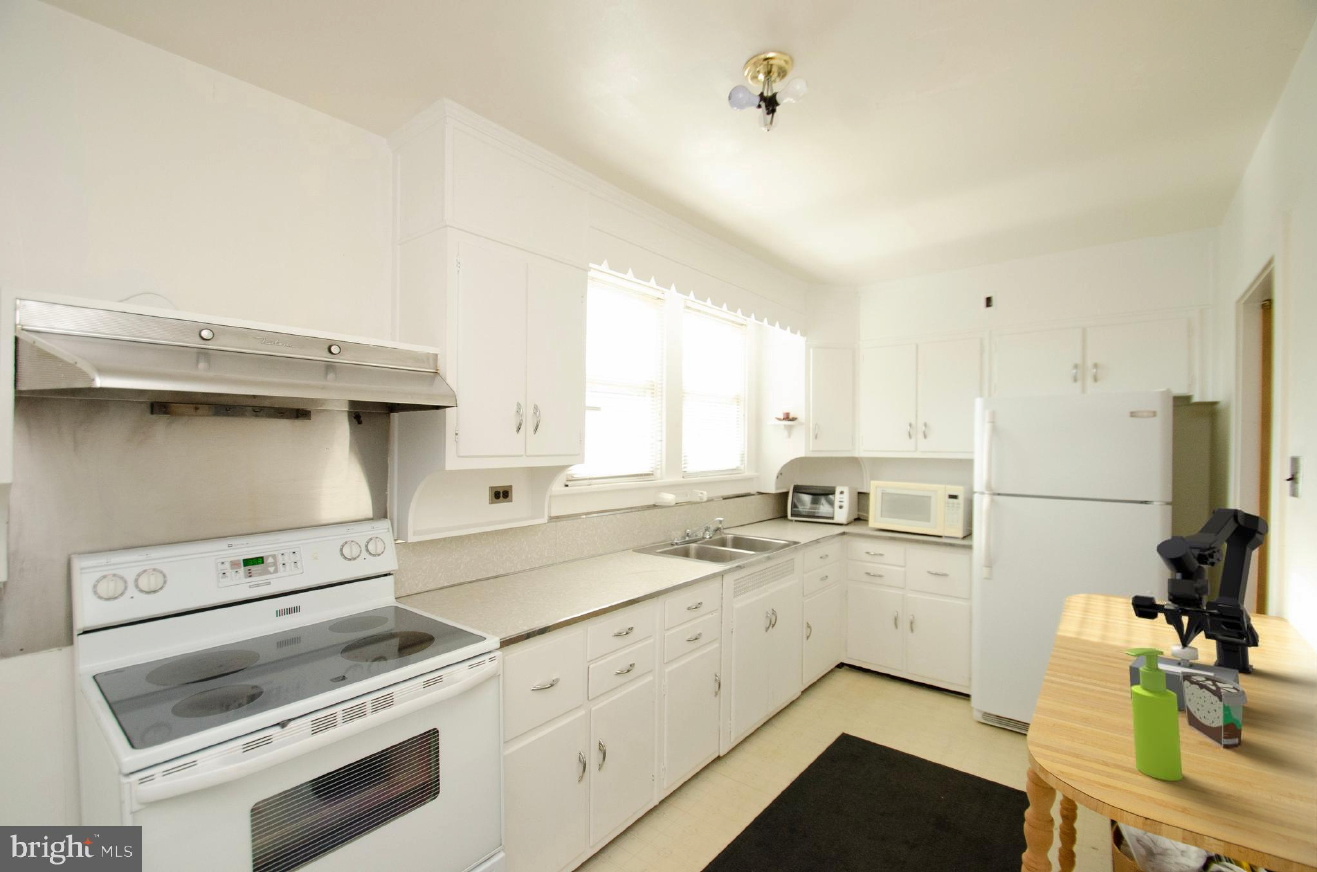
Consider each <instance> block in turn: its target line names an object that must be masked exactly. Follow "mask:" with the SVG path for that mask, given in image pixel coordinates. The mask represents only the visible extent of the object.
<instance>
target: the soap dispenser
mask: <svg viewBox="0 0 1317 872" xmlns="http://www.w3.org/2000/svg"><path fill="white" fill-rule="evenodd" d="M1124 654H1126V655H1128V656H1131V657H1134V658H1137V657H1139V656H1144V655H1145V666H1143V667H1140V668H1139V673H1140V685H1135V686H1132V687H1131V686H1130V694H1131V693H1132V699H1131V706H1132V721H1133V722H1132V724H1133V737H1134V739H1133V740H1134V751H1135V753H1134V754H1135V767H1136V769H1137V770H1138V771H1139V772H1141V773H1143V774H1144V775H1146V776H1149V777H1152V778H1155V779H1158V780H1163V781H1173V782H1174V781H1180V780H1182V778H1183V768H1182V753H1181V740H1180V739H1181V737H1180V722H1179V721H1180V720H1179V711H1178V710H1179V709H1178V706H1177V695H1176V694H1175V693H1174V692H1172V691H1170V690H1167V689H1166V675H1165V671H1164V670H1162V669H1160V668H1158V656H1165V654H1164V651H1162V650H1161V649H1156V648H1153V647H1136V648H1131V649H1127V650H1125V651H1124Z"/></svg>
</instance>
